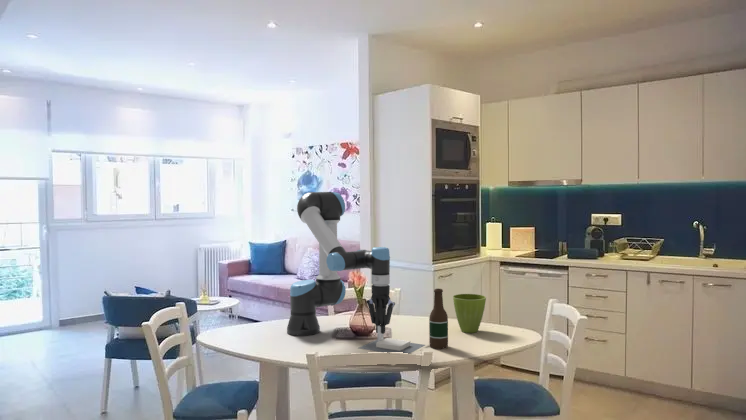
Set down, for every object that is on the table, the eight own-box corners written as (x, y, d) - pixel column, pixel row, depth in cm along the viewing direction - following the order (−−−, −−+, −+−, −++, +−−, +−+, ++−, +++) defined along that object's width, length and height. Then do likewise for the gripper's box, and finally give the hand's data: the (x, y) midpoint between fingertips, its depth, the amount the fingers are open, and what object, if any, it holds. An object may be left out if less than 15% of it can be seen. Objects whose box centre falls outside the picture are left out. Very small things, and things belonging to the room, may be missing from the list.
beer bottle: (427, 344, 232) (427, 287, 231) (446, 344, 232) (445, 287, 232) (431, 349, 224) (430, 290, 223) (450, 349, 225) (449, 290, 224)
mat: (357, 349, 225) (357, 348, 225) (380, 339, 241) (380, 338, 241) (404, 357, 214) (404, 355, 214) (425, 346, 229) (425, 344, 229)
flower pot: (493, 332, 252) (492, 297, 252) (469, 337, 244) (469, 300, 243) (469, 326, 264) (469, 292, 264) (446, 330, 256) (446, 296, 255)
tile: (376, 342, 226) (399, 346, 220) (387, 337, 234) (410, 341, 228) (376, 347, 226) (399, 351, 220) (387, 342, 234) (410, 345, 228)
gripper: (362, 284, 230) (362, 340, 230) (389, 287, 223) (389, 345, 223) (372, 282, 236) (372, 336, 237) (398, 284, 229) (398, 341, 230)
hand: (380, 340), depth 230 cm, fingers closed
